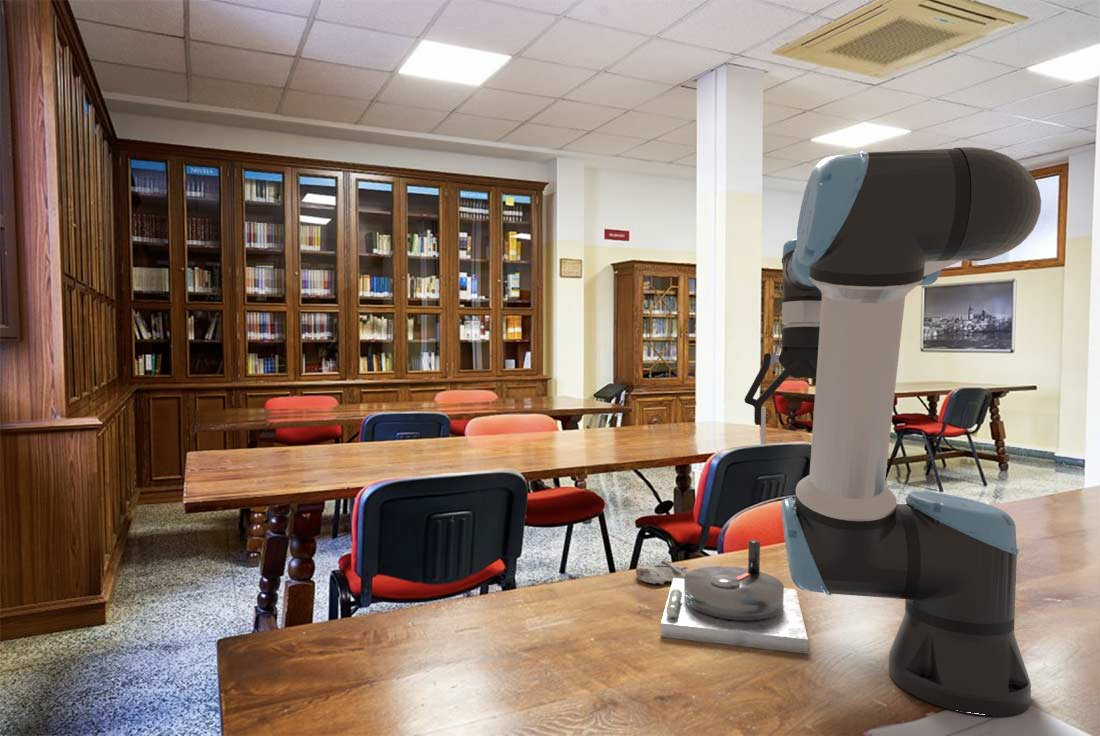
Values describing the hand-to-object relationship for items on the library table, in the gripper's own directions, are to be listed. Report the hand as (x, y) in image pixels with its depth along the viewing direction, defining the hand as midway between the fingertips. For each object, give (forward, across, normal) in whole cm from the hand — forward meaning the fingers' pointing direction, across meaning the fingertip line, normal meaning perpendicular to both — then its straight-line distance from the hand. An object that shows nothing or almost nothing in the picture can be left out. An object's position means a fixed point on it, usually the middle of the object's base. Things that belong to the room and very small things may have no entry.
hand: (802, 445), depth 121 cm
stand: (+25, +12, +20) cm, 34 cm away
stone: (+25, +24, +6) cm, 35 cm away
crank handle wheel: (+23, +12, +20) cm, 32 cm away
